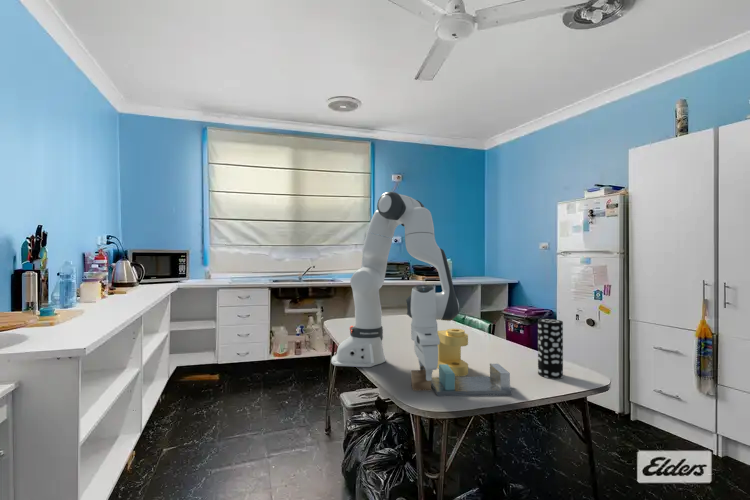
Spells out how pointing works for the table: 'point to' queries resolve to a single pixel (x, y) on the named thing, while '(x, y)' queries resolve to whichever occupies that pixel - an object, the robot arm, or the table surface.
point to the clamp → (452, 350)
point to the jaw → (447, 377)
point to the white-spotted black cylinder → (550, 348)
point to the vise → (477, 384)
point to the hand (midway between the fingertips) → (425, 375)
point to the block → (419, 380)
